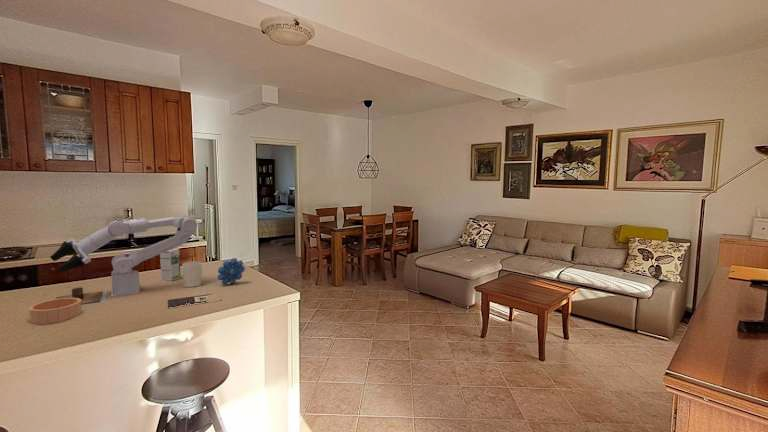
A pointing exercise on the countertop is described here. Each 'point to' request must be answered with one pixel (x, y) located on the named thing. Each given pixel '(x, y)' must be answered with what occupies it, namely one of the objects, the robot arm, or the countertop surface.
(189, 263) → the white cup
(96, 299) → the lid
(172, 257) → the syrup box
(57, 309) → the bowl
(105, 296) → the mat
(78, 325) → the countertop surface
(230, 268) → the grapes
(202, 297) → the chocolate bar
